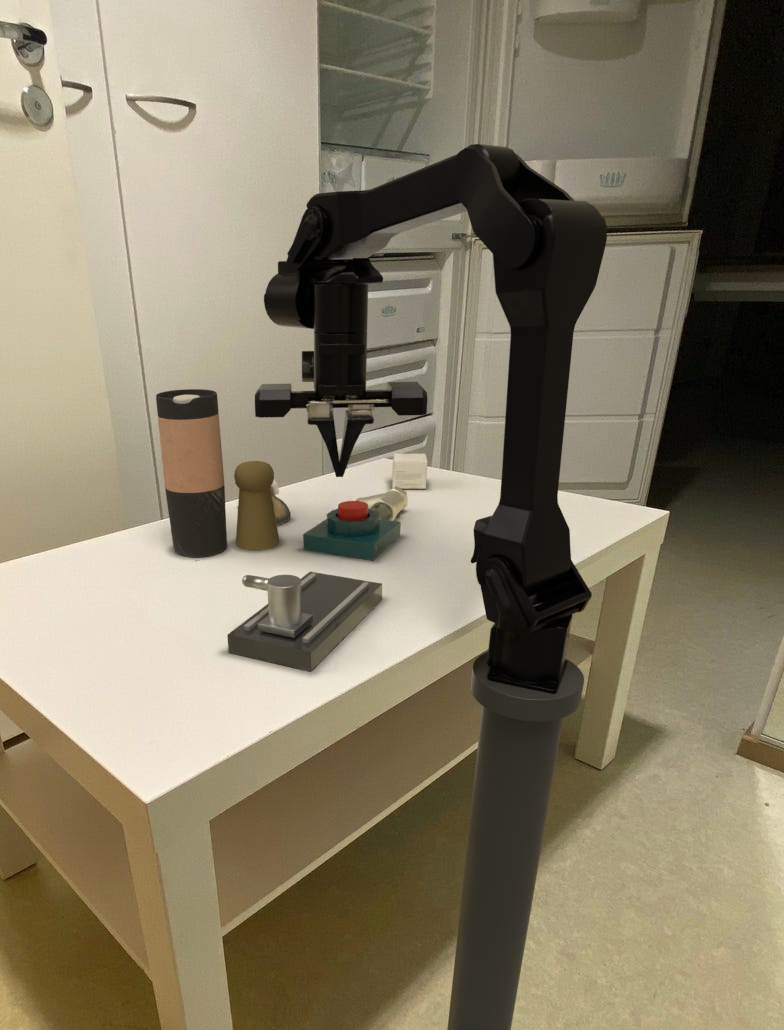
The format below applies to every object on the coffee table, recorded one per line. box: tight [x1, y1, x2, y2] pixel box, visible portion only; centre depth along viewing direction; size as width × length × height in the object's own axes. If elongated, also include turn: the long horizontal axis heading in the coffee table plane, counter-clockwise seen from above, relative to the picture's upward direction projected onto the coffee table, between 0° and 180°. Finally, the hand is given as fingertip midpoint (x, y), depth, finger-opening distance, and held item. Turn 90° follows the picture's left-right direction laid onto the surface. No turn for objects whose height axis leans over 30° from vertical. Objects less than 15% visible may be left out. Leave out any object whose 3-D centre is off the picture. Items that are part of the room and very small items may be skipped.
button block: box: [302, 508, 402, 561], centre depth 98 cm, size 10×10×4 cm
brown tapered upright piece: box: [233, 460, 281, 551], centre depth 97 cm, size 6×6×11 cm
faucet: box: [241, 574, 313, 638], centre depth 70 cm, size 7×4×5 cm, turn 63°
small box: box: [391, 453, 428, 490], centre depth 123 cm, size 6×6×5 cm
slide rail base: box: [226, 571, 383, 672], centre depth 76 cm, size 9×18×2 cm, turn 153°
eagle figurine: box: [234, 479, 292, 526], centre depth 109 cm, size 8×7×9 cm
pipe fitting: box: [355, 486, 409, 521], centre depth 108 cm, size 8×4×7 cm
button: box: [337, 500, 368, 520], centre depth 96 cm, size 4×4×2 cm
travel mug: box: [155, 388, 228, 558], centre depth 93 cm, size 8×8×20 cm
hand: (339, 476), depth 85 cm, fingers closed
